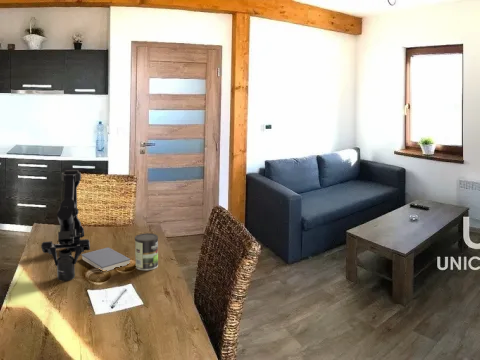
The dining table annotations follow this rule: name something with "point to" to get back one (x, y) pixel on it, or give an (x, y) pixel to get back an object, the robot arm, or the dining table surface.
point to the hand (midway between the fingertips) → (65, 264)
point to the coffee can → (146, 251)
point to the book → (105, 259)
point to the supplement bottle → (65, 266)
